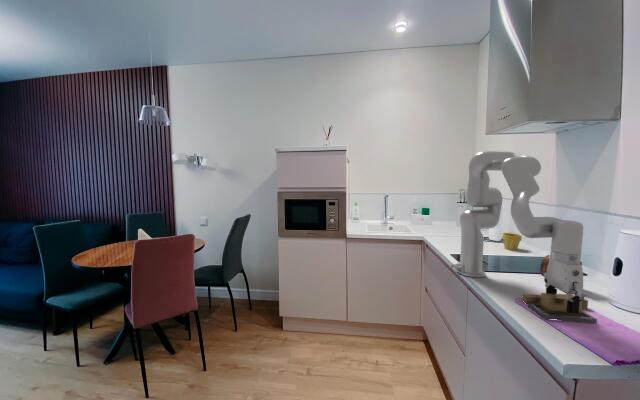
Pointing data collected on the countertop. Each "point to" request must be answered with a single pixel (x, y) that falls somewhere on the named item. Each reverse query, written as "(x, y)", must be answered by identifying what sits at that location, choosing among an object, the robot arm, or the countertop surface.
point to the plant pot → (511, 240)
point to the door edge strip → (537, 299)
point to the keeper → (583, 319)
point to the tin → (545, 264)
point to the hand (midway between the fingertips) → (561, 305)
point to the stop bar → (557, 304)
